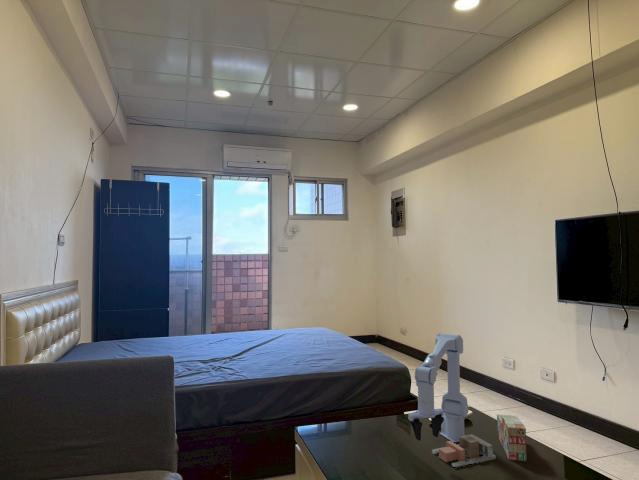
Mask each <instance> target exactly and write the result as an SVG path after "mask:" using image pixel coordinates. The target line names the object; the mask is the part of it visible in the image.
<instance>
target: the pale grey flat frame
mask: <svg viewBox="0 0 639 480" xmlns="http://www.w3.org/2000/svg"><path fill="white" fill-rule="evenodd" d="M468 435H469V436H470V437H472V438H474V439H476V440H478V441H479V455H480V454H481V456H479V457H477V458H472V459H470V458H468V459H465V460H463V461H455V462H451V467H452V466H453V467H459V466H463V465H468V464H472V465H475V464H474V463H476V464H480V463H484V462H488V461H492V460H496V458H497V456H496V455H495V454H494V446H493V444H491V443H489V442H488V441H485V440H483V439H481V438H480V437H478V436H476V435H474V434H472V433H471V434H468ZM457 445H458V446H459V443H458V444H457ZM445 447H446V446H444V447H438V448H434V449H432V450H431V454H432V455H434V454H435V455H439V454H438V453H439V449H440V448H445ZM482 455H483V456H482ZM479 462H480V463H479ZM468 466H469V465H468ZM453 467H452V468H453ZM463 467H464V466H463ZM459 468H460V467H459Z"/></svg>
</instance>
